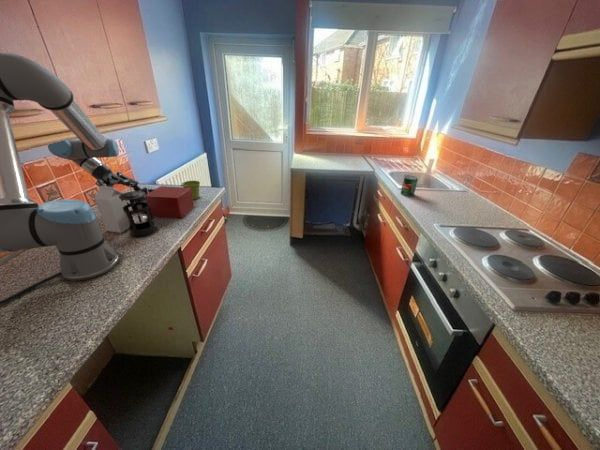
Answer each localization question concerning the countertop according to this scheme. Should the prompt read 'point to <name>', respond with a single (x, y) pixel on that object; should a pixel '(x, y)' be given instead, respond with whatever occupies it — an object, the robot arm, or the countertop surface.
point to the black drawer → (142, 201)
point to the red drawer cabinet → (170, 202)
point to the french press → (138, 220)
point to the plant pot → (193, 188)
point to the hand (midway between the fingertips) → (137, 201)
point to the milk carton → (112, 209)
